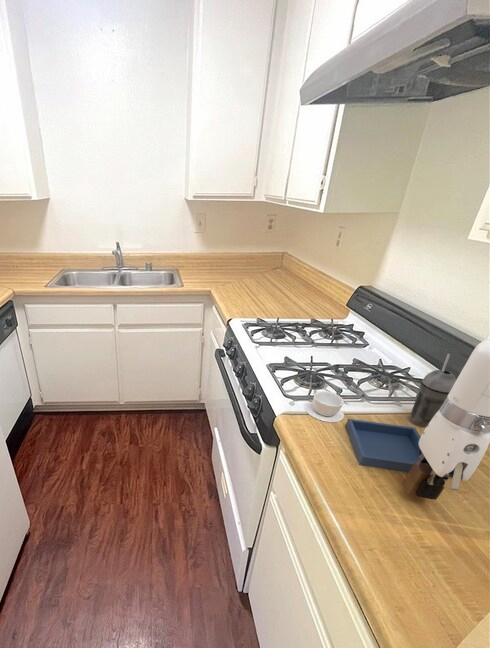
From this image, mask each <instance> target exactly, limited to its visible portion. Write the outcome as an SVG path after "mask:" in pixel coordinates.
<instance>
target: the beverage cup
mask: <svg viewBox="0 0 490 648" xmlns="http://www.w3.org/2000/svg"><path fill="white" fill-rule="evenodd" d="M450 357H451V353H447V355H446V357H445V360H444V362H443V365H442V368H441V369H435V370H432V371H430V372H429V373H426V375H424V377H423V379H421V381H420V384H419V390H418V393H417V396H416V399H415V401H414V403H413V405H412V408H411V411H410V414H409V418H408V421H409V422H410V423H411V424H412V425H414V426H416V427H419V428H426V427H427V425H428V424H429V422H430V421H431V420H432V418H433V417H434V416H435V414H436V413H437V412H438V411H439V410H440V408H441V406H442V404H443V403H444V401H445V399H446V398H447V396H448V394H449V392H450V391H451V389H452V387H453V385H454V384H455V382H456V380H457V377H456V376H455V374H453V372H451V371H448V370H446V367H447V364H448V361H449V359H450Z"/></svg>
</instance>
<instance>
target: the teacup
mask: <svg viewBox="0 0 490 648" xmlns="http://www.w3.org/2000/svg"><path fill="white" fill-rule="evenodd" d="M344 403H345V402H344V399H343V398H342V396H340V395H338V394H336V393H334V392H331V391H325V390H321V391H317V392H315V393H314V395H313V399H312V401H310V402H308V403H306V404H305V406H304V407H305V412H306V413H308V415H310V416H311V417H313V418H314V419H316V420H318V421H322V422H326V423H337V422H340V421H343V420H344V419H345V413H344V412H343V410H342V407H343V405H344Z"/></svg>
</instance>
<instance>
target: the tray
mask: <svg viewBox="0 0 490 648" xmlns="http://www.w3.org/2000/svg"><path fill="white" fill-rule="evenodd" d="M344 427H345V430H346V433H347V435H348V438H349V441H350V444H351V446H352V449H353V452H354V454H355V457H356V460H357V463H358V465H359V466H362V467H363V466H364V467H369V468H370V467H371V468H377V469H383V470H390V471H395V472H402V473H407V474H408V473H409V471H410V470H411V468H412V466H413V465H414V463H415V462H416V461H417V459H418V457H419V454H420V452H419V451H420V447H419V440H420V438H421V436H422V435H420V433H419V432H418V430H417V429H416V427H412V426H405V425H398V424H390V423H384V422H383V423H382V422H375V421H369V420H361V419H353V418H352V419H351V418H348V419H347V420H346V423H345V425H344Z"/></svg>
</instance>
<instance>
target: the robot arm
mask: <svg viewBox="0 0 490 648" xmlns="http://www.w3.org/2000/svg"><path fill="white" fill-rule="evenodd" d="M456 379H457V380H456V382H455V384H454V385H453V387H452V389H451V391H450V392H449V394H448V396H447V398H446V399H445V401H444V403H443V404H442V406H441V408H440V410H439V411H438V412H437V413H436V414H435V416H434V417H433V418H432V420H431V421H430V422H429V424H428V425H427V427H425V429H424V430H423V432H422V434H421V435H420V436H421V438H420V440H419V447H420V451H419V452H420V454H419V457H418V459H417V461H416V462H421V463H427V464H430V466H431V467H432V469H433V470H432V472H431V474H430V476H429V478H428V480H424V481H423V483H422V484H421V486H420V488H419V489H418V491H417V492H416V495H417V497H418V498H423V499H428V500H434V499H435V498H436V497H437V495H438V494H439V492H440V491H441V489H442V488H443V487H445V488H444V489H447V490H451V491H459V489H460V485H461V481H463V482H467V481H469V479H471V478H472V476H473V474H474V473H475V472H476V470H477V468H478V467H479V465H480V463H481V461H482V460H483V458H484V456H485V454H486V452H487V450H488V448H489V445H490V333H488V334H487V335H486V336H485V337H484V339H483V340H481V342H479V343H478V344H477V345H476V346H475V347H474V349H473V351H472V352H471V354H470V355H469V357H468V359H467V361H466V363H465V364H464V366H463V367H462V369H461V372H460V373H459V375H458V376H457V377H456ZM438 476H440V477H443V478H442V479H437V477H438Z"/></svg>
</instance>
